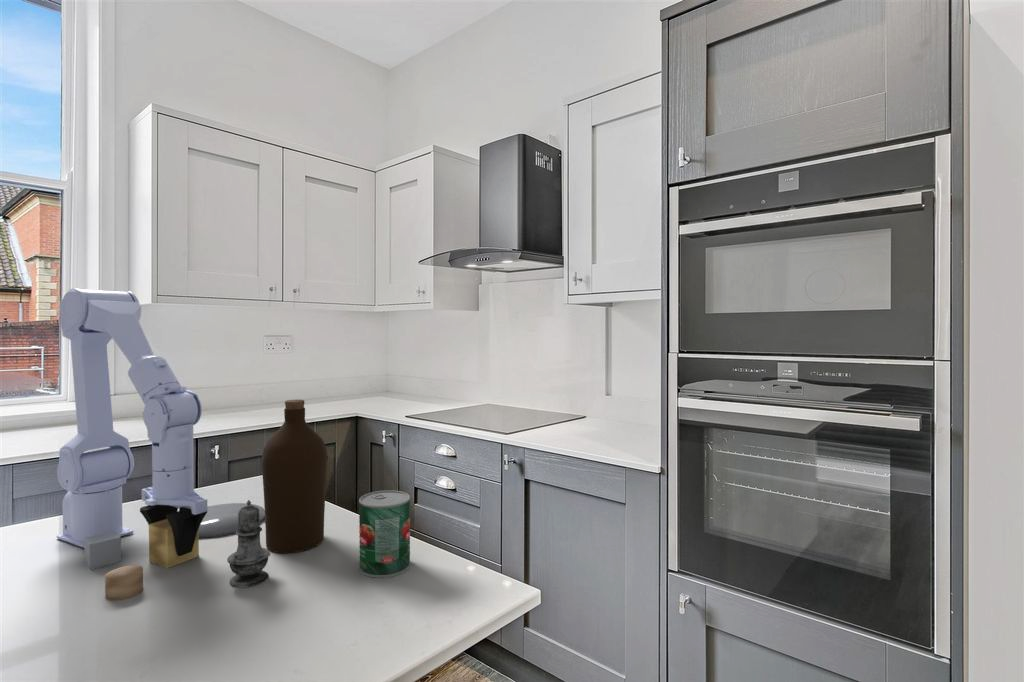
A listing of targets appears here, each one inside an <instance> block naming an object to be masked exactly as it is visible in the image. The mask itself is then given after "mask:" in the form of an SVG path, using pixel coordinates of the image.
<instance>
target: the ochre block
mask: <svg viewBox="0 0 1024 682" xmlns="http://www.w3.org/2000/svg"><path fill="white" fill-rule="evenodd" d="M199 539H200V538H199V530H198V531H197V535H196V538H195V542H194V546H193V549H192V552H190V553H187V554H184V555H182V556H178V555H177V553H176V549H175V542H174V535H173V531H172V528H171V525H170V523H169V521H168V520H167V519H165V520H162V521H158V522H155V523H152V524H149V525H148V546H149V547H148V561H149V562H151V563H153V564H156V565H159V566H161V567H165V568H167V569H168V568H171V567H174V566H177V565H179V564H182V563H184V562H187V561H190V560H192V559H195V558H198V557H199V556H200V555H199V554H200V553H199V551H200V550H199V547H200V545H199V544H200V543H199V541H200V540H199Z"/></svg>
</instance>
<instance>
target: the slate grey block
mask: <svg viewBox="0 0 1024 682" xmlns="http://www.w3.org/2000/svg"><path fill="white" fill-rule="evenodd" d="M121 537H122V536H121ZM121 537H120V536H119V535H118V534H117V533H116V532H115V531H111V532H107V533H103V534H98V535H94V536H89V537H85V538H84V549H83V550H84V563H85V565H86V566H87V567H88V568H89V570H93V569H97V568H100V567H104V566H108V565H113V564H115V563H119V562H122V548H121V546H122V541H121V540H122V539H121Z"/></svg>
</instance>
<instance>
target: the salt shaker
mask: <svg viewBox="0 0 1024 682" xmlns="http://www.w3.org/2000/svg"><path fill="white" fill-rule="evenodd" d="M246 503H247V505H246V506H245V507H243V508H241V509H240V510H239V513H238V530H237V531H236V533H235V535H237V548H236V551H235V552H233V553H231V554H230V555H229V556H228V557H227V558H226V561H227V563H228V564H229V567H230V570H231V572H232V573H233V574H235V575H234V576H232V577H231V579H230V580H229V585H230V586H231V587H233V588H239V589H240V588H241V589H243V588H244V589H245V588H250V587H254V586H258V585H260V584H262V583H264V582H266V581H267V580H268V578H269V573H268V572H267V571H265V570H263V569H265V567H267V564H268V561H269V557H270V556H271V551H270V550H269V549H268V548H267V547H266V548H264V547H262V545H261V532H262V531H263V527H261V526H260V523H259V509H258V508H257V507H256V506H252V505H250V504H252V502H251V501H250V500H249V499H248V500H247V502H246Z"/></svg>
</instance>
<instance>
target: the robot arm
mask: <svg viewBox="0 0 1024 682" xmlns="http://www.w3.org/2000/svg"><path fill="white" fill-rule="evenodd" d="M59 313H60V325H61V326H60V327H61V333H62V337H64V338H65V339H67V340H70V341H69V342H70V352H71V363H72V376H73V390H74V391H73V392H74V401H75V402H74V403H75V414H76V428H77V434H76V435H75V436H74V437H72V438H71V439H70V440H68V442H66V443H65V444H64V445H63V446H61V447H60V448H59V455H58V456H59V457H58V458H59V459H58V465H57V467H56V468H57V469H56V476H57V481H58V483H59V485H60V486H61V488H63V489H64V490H65V491H67V493H66V494H65V495H64V496H63V499H62V505H61V506H62V533H59V534H57V535H56V539H58V540H61V541H64V542H67V543H70V544H72V545H74V546H77V547H80V548H84V538H85V537H89V536H94V535H98V534H103V533H107V532H111V531H115V532H116V533H117V534H118V535H119V536H120V537H124V536H128V535H130V534H134V529H131V528H128V527H125V526H123V485H124V484H127V479H128V478H129V477H130V476H131V475H132V472H133V471H134V469H135V468H134V467H135V458H134V455H133V453H132V452H131V448H130V442H129V439H128V438H127V437H126V436H123V435H121V434H120V433H118V432H116V431H115V430H114V421H113V410H112V408H113V407H112V397H111V383H110V371H109V359H108V358H109V357H108V344H109V343H110V341H111V340H113V341H114V343H115V344H116V346H118V348H119V349H120V351H121V352H122V354H123V355H124V356H125V357H126V360H128V362H129V363H130V367H129V369H128V370H127V375H128V377H129V379H130V381H131V383H132V385H133V386H134V388H135V389H136V392H137V393H138V395H139V397H140V398H141V400H142V402H143V404H144V408H143V411H142V412H141V413H142V420H143V422H144V426H145V428H146V430H147V438H148V441H149V442H151V470H152V472H151V473H152V476H151V477H152V482H151V483H152V486H149V487H145V488H141V501H143V502H144V504H145V506H142V507H140V509H139V513H140V514H141V515H142V516H143V517H144V519H145V521H146V522H147V525H148V526H149V524H152V523H155V522H158V521H162V520H165V519H167V520H168V521H169V523H170V525H171V528H172V531H173V535H174V542H175V549H176V553H177V555H178V556H182V555H184V554H187V553H190V552H192V549H193V546H194V542H195V538H196V535H197V531H198V529H199V526H200V524H201V522H202V520H203V518H204V517H205V515H206V514H207V507H208V499H207V498H204V497H202V496H201V494H199V493H198V491H196V490H195V488H194V487H195V485H194V484H195V481H194V480H195V479H194V478H195V476H194V475H195V473H194V471H195V470H194V468H195V467H194V466H195V465H194V464H195V463H194V460H195V459H194V457H195V456H194V426H195V425H196V424H198V423H199V421H200V420H201V417H202V413H203V412H202V411H203V410H202V408H203V407H202V403H201V400H200V399H199V395H198V394H197V393H196V392H195V391H193V390H190V389H188V388H187V386H182V385H181V383H180V382H179V380H178V378H177V376H176V375H175V374H174V371H173V369H172V368H171V367H170V365H169V363H168V361H167V360H166V359H165V358H164V357H162V356H158V355H155V354H154V351H153V349H152V347H151V345H150V343H149V341H148V339H147V336H146V333H145V332H144V330H143V327H142V325H141V323H140V321H141V320H140V319H141V315H142V314H141V313H142V306H141V304H140V302H139V299H138V297H137V296H136V294H135V293H134V292H132V291H130V290H128V291H127V290H126V291H125V290H124V291H116V290H114V291H113V290H99V289H98V290H97V289H96V290H95V289H81V288H78V287H77V288H74V287H73V288H70V289H69V290H67V292H66V293H65V294H64V295H63V298H62V300H61V301H60V303H59ZM101 448H103V449H101ZM96 449H97V450H96ZM91 450H92V451H91Z"/></svg>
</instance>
